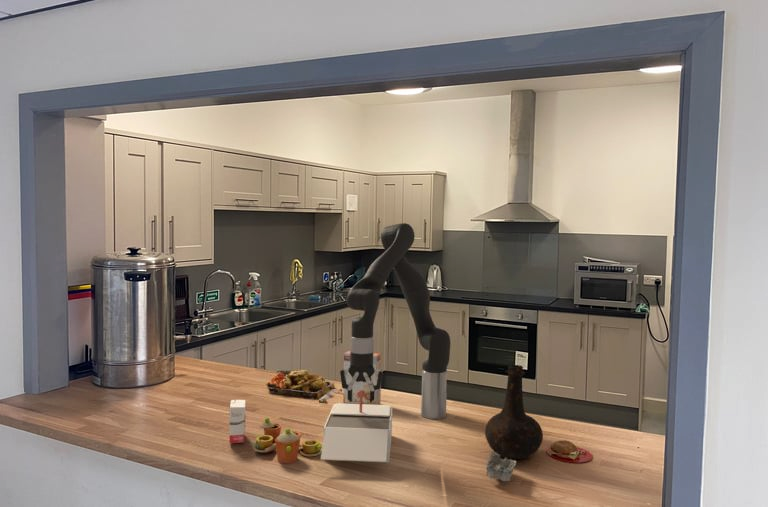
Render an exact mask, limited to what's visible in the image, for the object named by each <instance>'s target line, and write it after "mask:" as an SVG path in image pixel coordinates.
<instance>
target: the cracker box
mask: <svg viewBox="0 0 768 507" xmlns="http://www.w3.org/2000/svg"><path fill="white" fill-rule="evenodd" d="M349 367H350V350H348V351H346V352H344V354H343V369H349ZM373 367H374V369H375V370H382V353H379V352H378V353H377V352H374V354H373ZM371 379H372V382H373V384H374V385H377V380H378V377H376V374H375V373H374V374H373V375H372V376H371ZM351 380H352V376H351V375H350V373H349V372H348V373H347V375H346V384H348V385H349V384H350V382H351ZM381 388H382V385H380V389H379V390H378V389H377V390H375V398H374V401H372V403H371V402H370V387H369V385H368V384H367V382H362V381H360V382H356V381H355V383H354V385H353V387H352V389H353V392H352V402H350V400H348V390H347V389H345V388H343V390H342V391H343V399H342V400H343V402H342V403H343V404H360V398H359V397H358V396H357V392H358V391H359V390H363V391H364V392H365V396H364V397H363V398H362V404H370V405H381V400H382V398H381V395H382V394H381V392H382V391H381V390H382V389H381Z"/></svg>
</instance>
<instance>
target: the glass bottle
mask: <svg viewBox="0 0 768 507" xmlns="http://www.w3.org/2000/svg"><path fill="white" fill-rule="evenodd" d="M507 367H508V369H507V370H505V373H508V374H507V382H506V391H505V398H504V402H503V406H502V409H501V411H500V412H499V413H497V414H494V415H493V416H492V417H491V418H490V419H489V420H488V421H487V423H486V426H485V429H484V430H485V432H484V433H485V439H486V442H487V444H488V445H489V447H490V448H491V450H492V451H494V453H495V454H498V455H500V457H502V458H507V459H509V460H510V459H511V460H521V459H526V458H530V457H531V456H533V455H534V454H535V453H536V452H537V451H538V450H539V449H540V447H541V446H542V443H543V439H544V434H543V429H542V427H541V425H540V423H539V422H538V420H536V419H534V418H533V417H532V416H530V415H528V414H526V412H525V407H524V396H523V376H524V375H525V374H526V372H525V371H523V370H524V367H523V366H522V365H518V364H511V365H508V366H507Z"/></svg>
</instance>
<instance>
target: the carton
mask: <svg viewBox="0 0 768 507" xmlns="http://www.w3.org/2000/svg"><path fill="white" fill-rule="evenodd" d="M332 405H333V406H332V408H331V410H330V412H329V415H328V416H327V419H326V422H325V424H324V426H323V442H322V449H321V453H320V460H323V461H343V462H346V461H347V462H361V463H362V462H365V463H388V464H389V463H390V458H391V457H390V456H391V447H392V436H393V406H391V407H390V416H389V417H384V416H357V415H331V412H332V410H333V408H334V405H335V404H332Z"/></svg>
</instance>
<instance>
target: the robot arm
mask: <svg viewBox="0 0 768 507" xmlns="http://www.w3.org/2000/svg"><path fill="white" fill-rule="evenodd" d="M415 237H416V236H415V231H414V229H413V227H412V225H410V223H406V222H403V223H397V224H392V225H387V226H383V228H382V229H381V231H380V241H381V244H382V247H383V249H384V252H383V253H382V254H380V255H379V256H378V257H377V258H376V259H375V260H374V261H373V262H372V263H371V264H370V265H369V267H368V269H367V271H366V272H365V274H364V276H363V277H362V278H361V279H359V280H358V281H357V282H356V283H355V284H354V285H353V286H352V287H351V288H350V289H349V291H348V293H347V294H346V304H347V307H348V308H349V309H350V310H355V311H363V312H364V313H363V314H362V316H359V317H358V316H357V317H354V318H353V319H352V321H351V337H350V338H351V339H350V345H349V351H350V367H349V369H344V367H343V368H341V369H340V371H339V374H340V382H341V389H344V388H345V389H347V390H348V400H350V402H352V392H353V389H352V387H353V385H354V383H355V381H356V382H360V381H362V382H367V384H368V385H369V387H370V402H371V403H372V401H374V398H375V390H377V389H378V390H379V389H380V385H381V384H382V377H383V372H384V371H383V370H382V369H381V370H375V369H374V367H373V354H374V353H375V352H374V349H375V348H374V347H375V346H374V345H375V344H374V323H375V319H376V315H377V312H378V309H379V305H380V295H379V293H378V292H379V291H381V290H382V288H383V287H384V284H385V283H386V281H387V280H388V277H389V276H390V274H391V273H392V272H393V271H394V272H395V274H396V277H397V280H398V282H399V285H400V288H401V291H402V294H403V297H404V299H405V302H406V304H407V306H408V309H409V311H410V314H411V317H412V319H413V323H414V327H415V330H416V334H417V337H418V341H419V342H418V343H419V344H420V346H421V348H423V349H424V350H426V351H428V358H427V360H424V361H423V362H422V365H421V367H422V368H421V405H420V406H421V407H420V408H421V409H420V411H421V412H420V415H421V416H422V417H424V418H427V419H431V420H438V419H440V420H441V419H446V418H447V396H448V395H447V394H448V393H447V373H448V372H447V370H448V365H449V362H450V358H451V356H450V354H451V336H450V334H449V333H448V332H447V331H446V330H445V329H442V328H439V327H436V325H435V324H434V321H433V319H432V316H431V313H430V305H431V304H430V302H431V295H430V290H429V287H428V285H427V282H426V279H425V277H424V276H423V274H421V272H420V271H419V270H418V269H417V268H415V266H413V265H412V264H411V263H410V262H409V261H408V260H407V258H406V257H405V254H406V253H407V252H408V251H409V250H410V249H411V247H412V246H413V244H414V241H415ZM348 372H349V373H350V375H351V376H352V380H351V382H350V384H349V385H348V384H346V375H347V373H348ZM374 373H375V374H376V377H378V380H377V385H374V384H373V382H372V379H371V376H372V375H373V374H374ZM381 386H382V385H381Z"/></svg>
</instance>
